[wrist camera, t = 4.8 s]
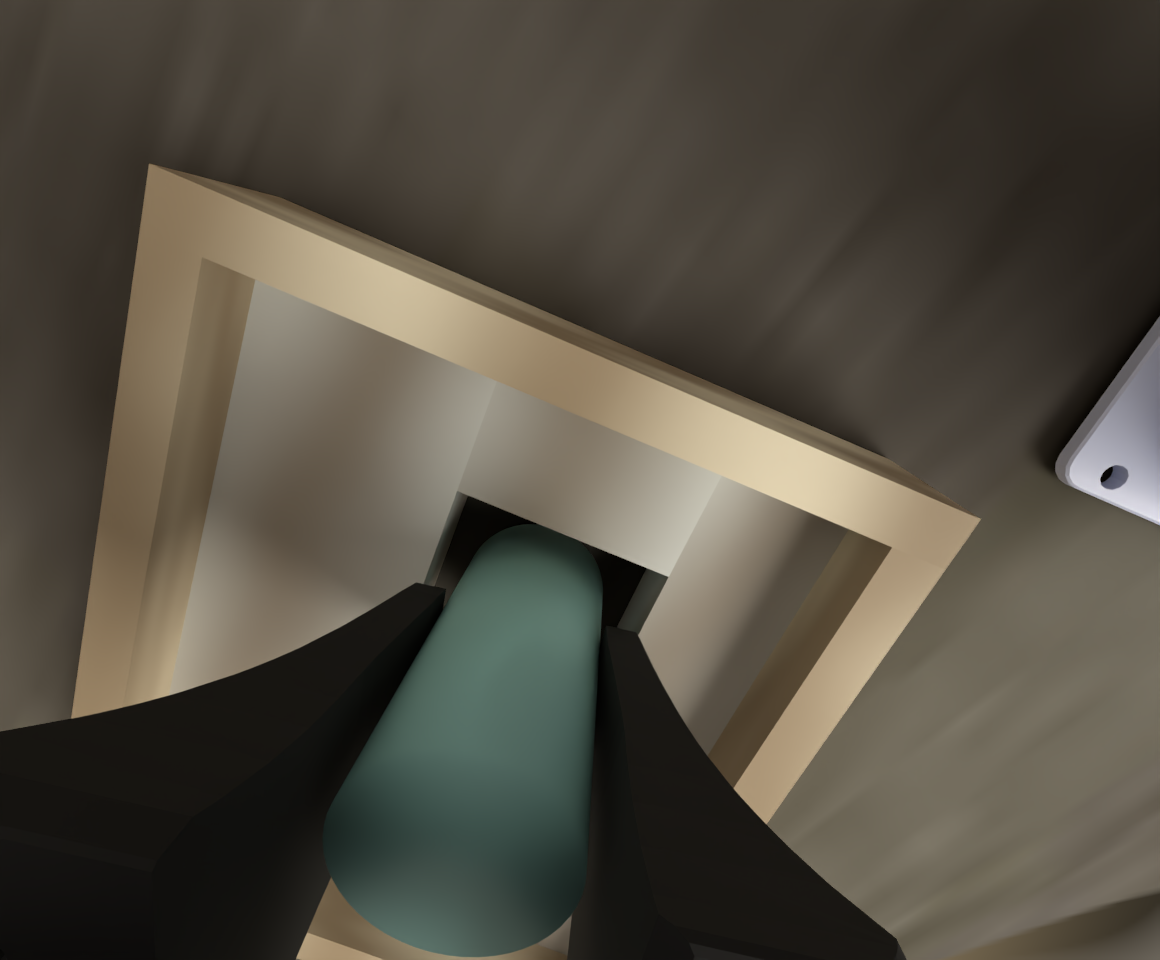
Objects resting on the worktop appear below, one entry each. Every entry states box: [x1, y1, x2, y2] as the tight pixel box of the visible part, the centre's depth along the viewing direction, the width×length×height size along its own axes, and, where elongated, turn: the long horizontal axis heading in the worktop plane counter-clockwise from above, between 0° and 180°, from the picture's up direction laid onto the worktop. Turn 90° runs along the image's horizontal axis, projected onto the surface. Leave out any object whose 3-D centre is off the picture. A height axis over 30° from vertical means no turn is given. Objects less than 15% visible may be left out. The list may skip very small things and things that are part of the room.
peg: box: [323, 524, 603, 957], centre depth 10 cm, size 3×3×7 cm
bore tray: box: [71, 163, 981, 960], centre depth 13 cm, size 14×16×4 cm
